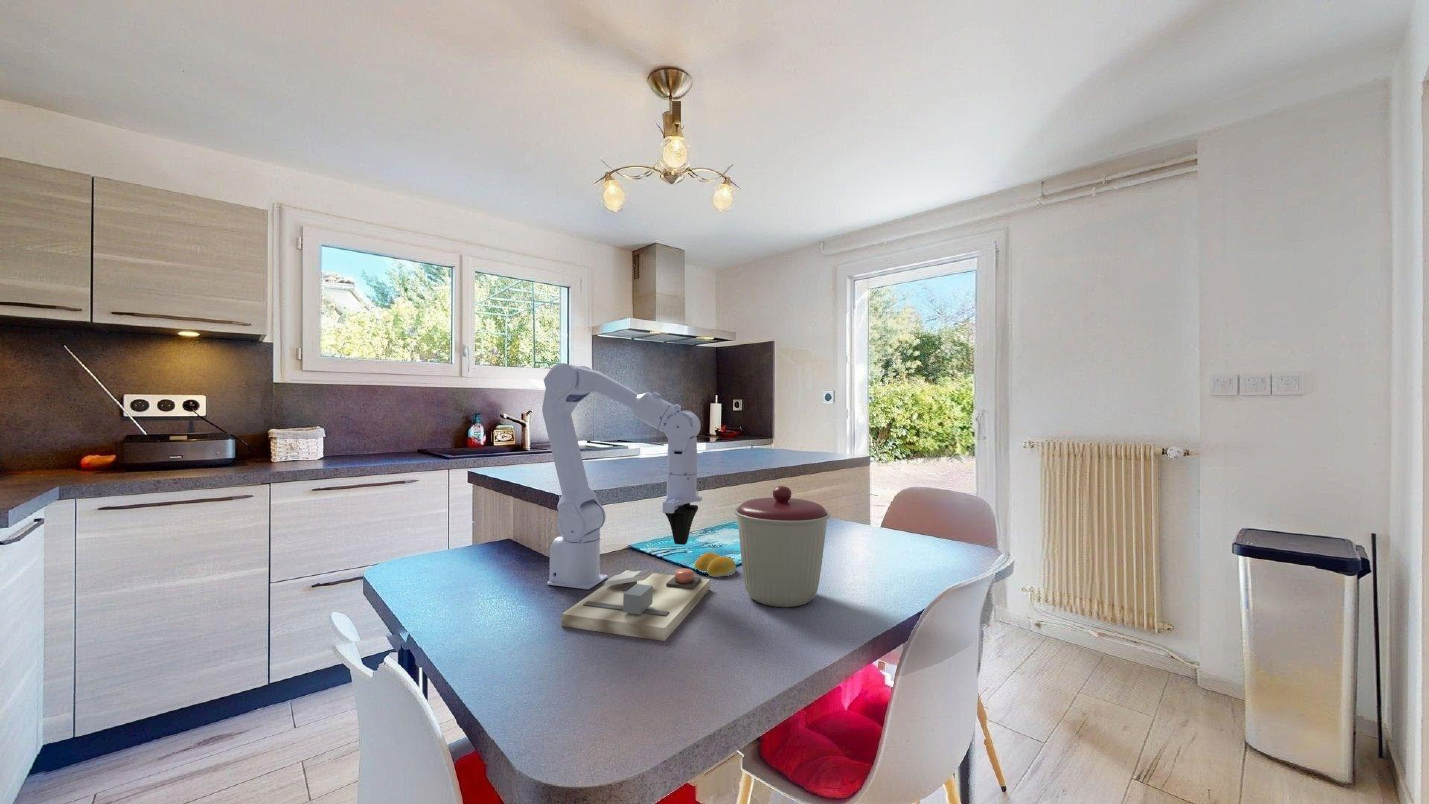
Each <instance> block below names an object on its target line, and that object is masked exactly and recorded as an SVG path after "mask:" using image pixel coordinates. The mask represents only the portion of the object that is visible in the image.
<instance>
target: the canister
mask: <svg viewBox="0 0 1429 804" xmlns="http://www.w3.org/2000/svg"><path fill="white" fill-rule="evenodd" d="M772 496H773V497H762V498H760V497H759V498H754V499H749V500H747V501H744V502H742V503H741V504H740V505H738V506H736V507H735V508H734V509H733V513H734V514H735V516H737V526H738V527H737V528H738V535H739V548H740V558H741V567H742V576H743V583H744V587H745V590H746V592H747V594H748V595H749V597H750V598H751V599H753V600H754V601H756V602H758V603H760V604H762V605H766V606H771V607H776V608H792V607H793V608H794V607H799V606H803V605H805V604H808V603H810V602H811V601H812V600H813V599H814V598H815V597H816V595H817V591H818V589H819V585H820V579H821V571H822V566H823V565H822V564H823V557H824V550H825V542H826V540H825V539H826V535H827V534H826V533H827V531H826V530H827V523H828V520H829V519H830V517H831V516H832V515H831V512H830V510H829V509H827V508H824V507H823V505H821V504H820V503H817V502H814V501H811V500H807V499H800V498H794V497H793V498H791V497H792V490H791V489H790V488H789V486H784V485H778V486H776V487H774V488H773V490H772Z"/></svg>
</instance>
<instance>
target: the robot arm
mask: <svg viewBox="0 0 1429 804" xmlns="http://www.w3.org/2000/svg"><path fill="white" fill-rule="evenodd" d="M543 383H544V387H545V392H544V396H543V401H542V402H543V403H542V407H541V408H542V411H541V412H542V416H543V419H544V424H545V428H546V433H547V437H548V441H549V445H550V449H551V453H552V457H553V462H554V466H555V470H556V474H557V479H558V482H559V486H560V491H561V497H560V498H559V501H558V503H557V505H556V508H557V514H558V517H557V523H556V526H557V531H558V533H559V535H560V536H557V537H556V538H554V539H553V541H552V543H551V546H550V551H549V576H548V578H549V580H548V581H547V583H546V584H547V585H549V586H550V585H551V586H557V587H563V588H564V587H566V588H572V589H580V590H590V589H592V588H594V587H595V586H597V585H598V584H599V583H601V582H603V581H604V580H607V579H608V574H604V573H603V574H601V573H600V572H601V571H600V568H601V567H600V566H601V564H600V563H601V561H600V560H601V559H600V558H601V549H600V548H601V533H600V532H601V529H602V527H603V526H604V524H605V523H606V511H605V509H604V507H603V506H602V505H601V503H600V502H599V500H598V499H599V498H598V496H597V494H596V492H595V491H593V489H591V487H590V486H589V482H588V478H587V474H586V470H585V467H584V466H585V465H584V462H583V458H582V453H581V450H580V445H579V441H578V438H577V434H576V433H577V432H576V428H575V424H574V420H573V416H572V413H573V411H574V410H575V409H576V407H577V406H578V405H579V403H580V402H582V401H583V400H584V399H586V398H587V397H588V396H589V395H590V394H591V393H594V394H595V393H598V394H601V395H603V396H605V397H607V398H609V399H612V400H614V401H615V402H617V403H619V404H622V405H624V406H625V407H628V408H630V409H631V410H632V413H633V414H632V415H633V416H634V418H636V419H637V420H639V421H641V422H643V423H644V424H646V425H649V426H650V427H652V428H653V429H655V430H657V431H660V432H662V433H664V436H666V438H667V461H666V462H667V467H666V469H667V470H666V471H667V473H666V495H665V499H664V501H663V502H662V513H664V514H665V516H666V518H667V520H668V523H669V525H670V528H671V532H672V533H671V534H672V537H673V542H674V544H675V545H682V546H685V545H686V544H687V543H688V540H689V537H690V532H691V527H692V524H693V520H694V517H695V516H696V514H697V512H698V510H699V505H697V504H691V503H694V502H697V503H698V502H701V501H703V496H699V490H697V483H698V482H697V476H698V475H697V474H698V472H697V470H698V437H697V436H698V435H699V434H700V431H701V427H702V426H701V421H700V418H699V417H698V416H697V415H696V414H695V413H694V412H693V411H692V410H687V409H686V410H681V408H682V406H681V405H680V404H678V403H676V404H673V403H670V402H669V401H667V400H665V399H664V398H661V394H660V393H658V392H656V391H654V392H652V393H651V392H650V391H647V392H644V393H642V394H640V393H638V392H636V391H635V390H633V389H631V388H630V387H628V386H627V385H624V384H622V383H621V382H619V381H617V380H616V379H614V378H612V377H610V376H608V375H606V374H604V372H600V371H598V370H595V369H591V368H590V367H588V366H585V365H572V364H568V363H565V362H563V363H561V362H560V363H557V364H555V365H553V366H552V367H551V368H550V370H549V371H548V373H547V374H546V376H545V377H544V378H543Z"/></svg>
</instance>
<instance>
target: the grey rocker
mask: <svg viewBox="0 0 1429 804" xmlns="http://www.w3.org/2000/svg"><path fill="white" fill-rule="evenodd" d="M636 571H637V570H636ZM653 573H654V571H653V568H648V569H642V570H638V571H637V572H631V573H625V574H621V573H619V574H614V575H612V576H610V577H609V578H607V579H606V580H605V581H604V583H605V584H604V585H606V586H609V585H615V584H622V583H628V582H635V581H641V580H645V579H646V578H648V577H649V576H650V575H652V574H653Z"/></svg>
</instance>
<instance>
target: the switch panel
mask: <svg viewBox="0 0 1429 804" xmlns="http://www.w3.org/2000/svg"><path fill="white" fill-rule="evenodd" d="M631 572H637V570H627V569H626V570H624V571H623V572H622V573H620V574H625V573H631ZM636 584H642V585H650V586H653V597H652V604H651V605H650V606H649V607H648V608H647V609H646V610H645V611H644V612H643V613H641V614H632V613H625V612H623V594H624V593H625V592H626V591H628V590H629V589H630V588H632V587H633V586H634V585H636ZM709 589H710V590H711V579H709V578H702V577H697V576H693V581H692V582H689V583H679V582H676V581H675V574H665V573H664V574H663V573H656V572H655V573H654V572H653V574H652V575H650V576H649V577H648V578H646V579H645V580H641V581H635V582H628V583H622V584H615V585H609V586H606V585H605V584H603V585H602V586H600V587H599V588H598V589H596V590H595V591H593V592H592V593H590V594H589V595H587V596H586V597H584V598H583V599H581V600H579V601H578V602H577V603H576V604H574V605H573V606H571V607H570V608H568V609H566V610H565V611H564V612H562V613H561V623H560V624H561V627H566V628H573V629H579V630H586V631H593V632H599V633H600V632H601V633H607V634H613V635H620V636H628V637H632V638H633V637H634V638H641V639H648V640H655V641H662V642H665V641H667V640H668V638H669V637H670V636H671V635H672V634H673V632H674V631H675V630H677V628H678V627H679V626H680V624H681V623H682V622H683V621H684V620H685V619H686V617H687V616H688V615H689V614H690V613H691V612H692V611H693V609H695V607H696V606H697V605H698V604H699V602H700V601H701V600H702V599H703V598H704V597H705V596H706V595H707V594H708V592H709V591H710V590H709ZM708 590H709V591H708ZM707 591H708V592H707ZM705 594H706V595H705ZM704 595H705V596H704ZM702 597H703V598H702Z"/></svg>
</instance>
